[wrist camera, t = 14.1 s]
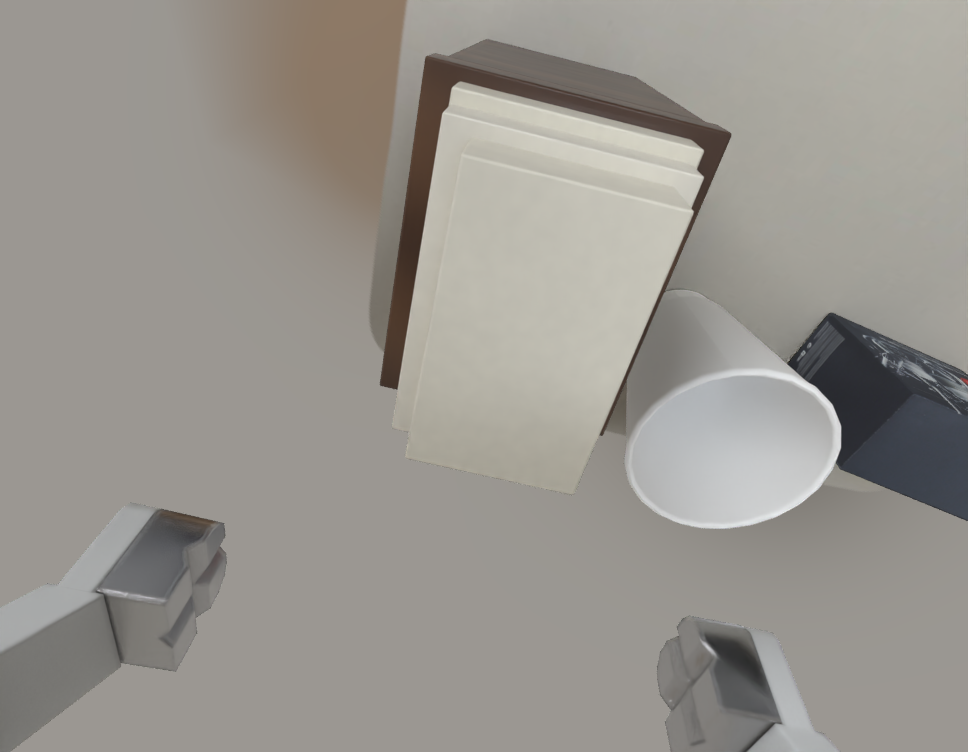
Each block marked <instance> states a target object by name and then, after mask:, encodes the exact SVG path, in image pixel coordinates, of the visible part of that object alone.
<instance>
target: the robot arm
mask: <svg viewBox="0 0 968 752" xmlns="http://www.w3.org/2000/svg"><path fill="white" fill-rule="evenodd" d="M224 538H225V528H224V523H221V522H217V521H213V520H208V519H204V518H199V517H195V516H191V515H186V514H182V513H177V512H173V511H168V510H164V509H160V508H155V507H150V506H146V505H141V504H136V503H130V504H128V505H126V506H125V507H123V508H122V509H120V510H119V512H118V513H117V514H116V515H115V517H114V518H113V519H112V520H111V521H110V522H109V523H108V525H107V526H106V527H105V528H104V529H103V531H102V532H101V533H100V534H99V535H98V537H97V538H96V539H95V540H94V541H93V543H92V544H91V545H90V546H89V547H88V549H87V550H86V551H85V552H84V553H83V555H82V556H81V557H80V558H79V559H78V561H77V562H76V563H75V564H74V566H73V567H72V568H71V569H70V570H69V571H68V573H67V574H66V575H65V576H64V577H63V579H62V580H61V581H60V582H59V583H58V585H54V584H48V583H47V584H45V585H43V586H42V587H39V588H38V589H36V590H34V591H32V592H30V593H28V594H26V595H24V596H22V597H20V598H18V599H16V600H14V601H12V602H10V603H8V604H7V605H5V606H3V607H1V608H0V752H10V751H12V750H13V749H14V748H15V747H17V746H18V745H20V744H21V743H22V742H23V741H25V740H26V739H27V738H29V737H30V736H31V735H32V734H34V733H35V732H37V731H38V730H39V729H40V728H41V727H43V726H44V725H46V724H47V723H48V722H50V721H51V720H52V719H53V718H55V717H56V716H57V715H59V714H60V713H61V712H63V711H64V710H65V709H66V708H68V707H69V706H70V705H72V704H73V703H74V702H76V701H77V700H78V699H79V698H81V697H82V696H83V695H85V694H86V693H87V692H89V691H90V690H91V689H93V688H94V687H95V686H96V685H98V684H99V683H100V682H102V681H103V680H104V679H106V678H107V677H108V676H109V675H111V674H112V673H114V672H115V671H116V670H117V669H118V668H120V667H121V663H125V664H130V665H137V666H143V667H150V668H156V669H163V670H169V671H175V672H176V671H177V669H178V667H179V665H180V663H181V662H182V660H183V658H184V656H185V654H186V652H187V651H188V649H189V647H190V645H191V643H192V641H193V640H194V637H195V636H196V634H197V627H196V617H198V616H199V615H201V614H202V613H204V612H205V611H207V610H208V609H210V608H211V606H212V604H213V602H214V600H215V598H216V597H217V595H218V593H219V590H220V587H221V584H222V581H223V578H224V576H225V570H226V564H227V561H226V560H227V559H226V552H225V551H224V550H223V549H222V548H221V547H220V545H221V543H222V541H223V539H224ZM677 630H678V634H679V636H677V637H675V638H673V639H670V640H668V641H667V642H666V643H665V645H664V647H663V648H662V650H661V651H660V656H659V661H658V666H657V677H658V679H657V680H658V686H659V692H660V696H661V697H662V698H663V700H664V701H665V703H666V704H667V705H668V707H669V708H670V709H671V711H670V714H669V716H668V717H667V719H666V721H665V724H666V729H667V735H668V739H669V745H670V750H671V752H840V751H839V750H838V749H837V747H836V746H835V745H834V744H833V743H832V742H831V741H830V740H829V738H828V737H827V736H826V735H825V734H824V733H821V732H818V731H815V730H814V728H813V725H812V722H811V720H810V717H809V715H808V712H807V710H806V707H805V705H804V702H803V700H802V697H801V695H800V692H799V690H798V687H797V685H796V682H795V680H794V677H793V675H792V672H791V670H790V667H789V665H788V662H787V660H786V657H785V655H784V652H783V650H782V647H781V645H780V642H779V640H778V639H777V637H776V636H775V635H774V634H773V633H772V632H768V631H763V630H758V629H753V628H748V627H742V626H741V625H736V624H731V623H726V622H720V621H715V620H709V619H704V618H699V617H693V616H688V617H685V618H683V619H682V620H681V622H680V623H679V624H678V626H677Z"/></svg>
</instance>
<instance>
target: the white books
mask: <svg viewBox="0 0 968 752" xmlns="http://www.w3.org/2000/svg"><path fill="white" fill-rule="evenodd" d="M472 137H475V138H479V139H483V140H487V141H491V142H495V143H499V144H503V145H507V146H511V147H515V148H519V149H523V150H527V151H531V152H535V153H539V154H543V155H547V156H551V157H555V158H559V159H563V160H567V161H571V162H575V163H579V164H583V165H587V166H591V167H595V168H599V169H603V170H607V171H611V172H615V173H619V174H623V175H627V176H631V177H635V178H639V179H644V180H648V181H652V182H656V183H660V184H664V185H668V186H672V187H674V188H676V190H677V191H678V192H679V193H680V195H681V196H682V197H683V199H684V200H685V201H686V202H687V204H688V205H689V206H690V207H691V208H692V206H693V203H694V201H695V199H696V196H697V194H698V191H699V189H700V187H701V184H702V182H703V180H704V177H703V176H702V175H701V174H700V173H699V172H698V171H697V168H698V165H699V163H700V161H701V158H702V156H703V153H704V150H703V149H702V148H701V147H699V146H698V145H697V144H696V143H694V142H693V141H692V140H690V139H686V138H682V137H678V136H674V135H670V134H666V133H662V132H658V131H654V130H650V129H647V128H643V127H639V126H635V125H631V124H627V123H623V122H619V121H615V120H611V119H607V118H603V117H599V116H595V115H591V114H587V113H583V112H579V111H575V110H571V109H567V108H563V107H560V106H556V105H552V104H548V103H544V102H540V101H536V100H532V99H528V98H524V97H520V96H516V95H512V94H508V93H504V92H500V91H496V90H492V89H488V88H484V87H480V86H477V85H473V84H469V83H465V82H458V83H457V84H456V85H454V86H453V87H452V89H451V95H450V101H449V107H448V108H447V109H446V110H445V111H444V112H443V113H442V118H441V125H440V131H439V137H438V143H437V149H436V155H435V162H434V168H433V174H432V180H431V186H430V192H429V199H428V205H427V211H426V217H425V223H424V230H423V236H422V242H421V248H420V254H419V260H418V267H417V273H416V279H415V285H414V291H413V298H412V304H411V310H410V316H409V322H408V328H407V335H406V341H405V347H404V353H403V359H402V366H401V372H400V378H399V384H398V391H397V396H396V403H395V409H394V415H393V421H392V429H396V430H400V431H405V432H409V431H410V426H411V420H412V415H413V410H414V404H415V399H416V393H417V388H418V383H419V377H420V372H421V366H422V361H423V356H424V350H425V345H426V339H427V334H428V329H429V323H430V318H431V312H432V307H433V302H434V296H435V291H436V285H437V280H438V275H439V269H440V264H441V258H442V253H443V248H444V242H445V237H446V231H447V226H448V221H449V215H450V210H451V204H452V199H453V194H454V188H455V183H456V177H457V172H458V167H459V161H460V156H461V154H462V153H463V151H464V149H465V147H466V145H467V144H468V142H469V140H470V139H471V138H472Z"/></svg>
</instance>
